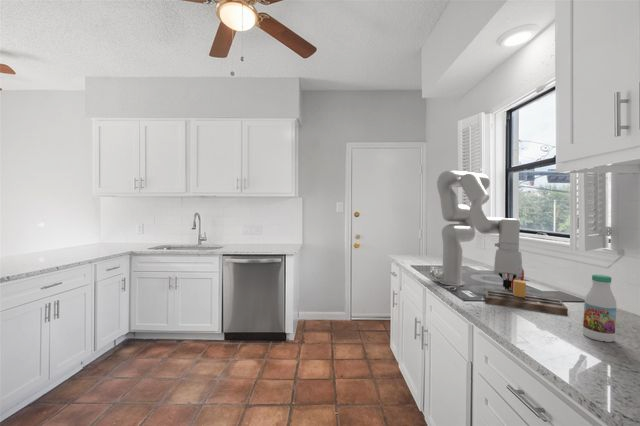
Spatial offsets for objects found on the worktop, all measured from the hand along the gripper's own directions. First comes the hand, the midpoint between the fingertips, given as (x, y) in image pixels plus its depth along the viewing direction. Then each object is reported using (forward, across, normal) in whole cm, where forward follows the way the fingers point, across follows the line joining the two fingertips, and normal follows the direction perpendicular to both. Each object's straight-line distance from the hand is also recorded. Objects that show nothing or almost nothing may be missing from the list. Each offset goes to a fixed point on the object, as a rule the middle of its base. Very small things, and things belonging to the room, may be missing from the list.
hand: (506, 288), depth 136 cm
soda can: (+6, +5, +25) cm, 26 cm away
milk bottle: (+6, +24, -28) cm, 37 cm away
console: (+6, +6, 0) cm, 8 cm away
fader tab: (+3, +5, 0) cm, 5 cm away
